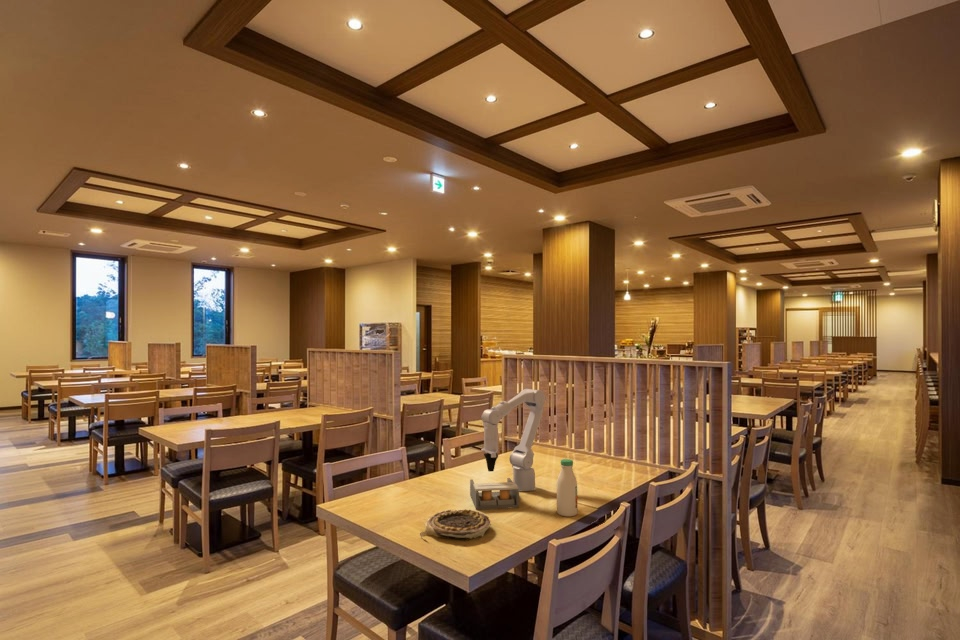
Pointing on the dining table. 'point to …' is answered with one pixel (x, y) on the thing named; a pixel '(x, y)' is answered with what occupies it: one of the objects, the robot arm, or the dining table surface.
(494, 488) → the lid
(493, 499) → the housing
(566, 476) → the milk bottle
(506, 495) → the orange rounded block
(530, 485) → the robot arm
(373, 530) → the dining table surface
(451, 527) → the pie
